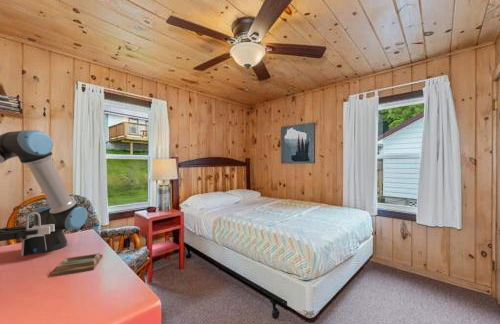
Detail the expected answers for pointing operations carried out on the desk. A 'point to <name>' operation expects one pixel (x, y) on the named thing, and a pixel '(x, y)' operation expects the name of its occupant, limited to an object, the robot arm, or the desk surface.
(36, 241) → the padlock
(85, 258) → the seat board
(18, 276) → the desk surface
